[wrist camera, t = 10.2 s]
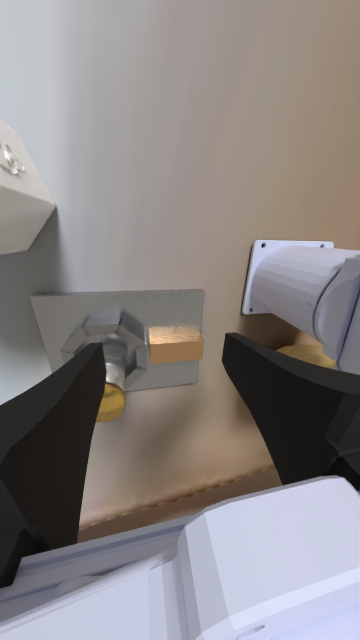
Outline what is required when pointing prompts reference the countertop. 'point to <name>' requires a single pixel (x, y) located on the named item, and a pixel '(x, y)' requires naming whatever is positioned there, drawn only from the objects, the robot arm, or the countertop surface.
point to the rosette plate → (135, 310)
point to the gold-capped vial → (113, 383)
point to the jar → (20, 195)
